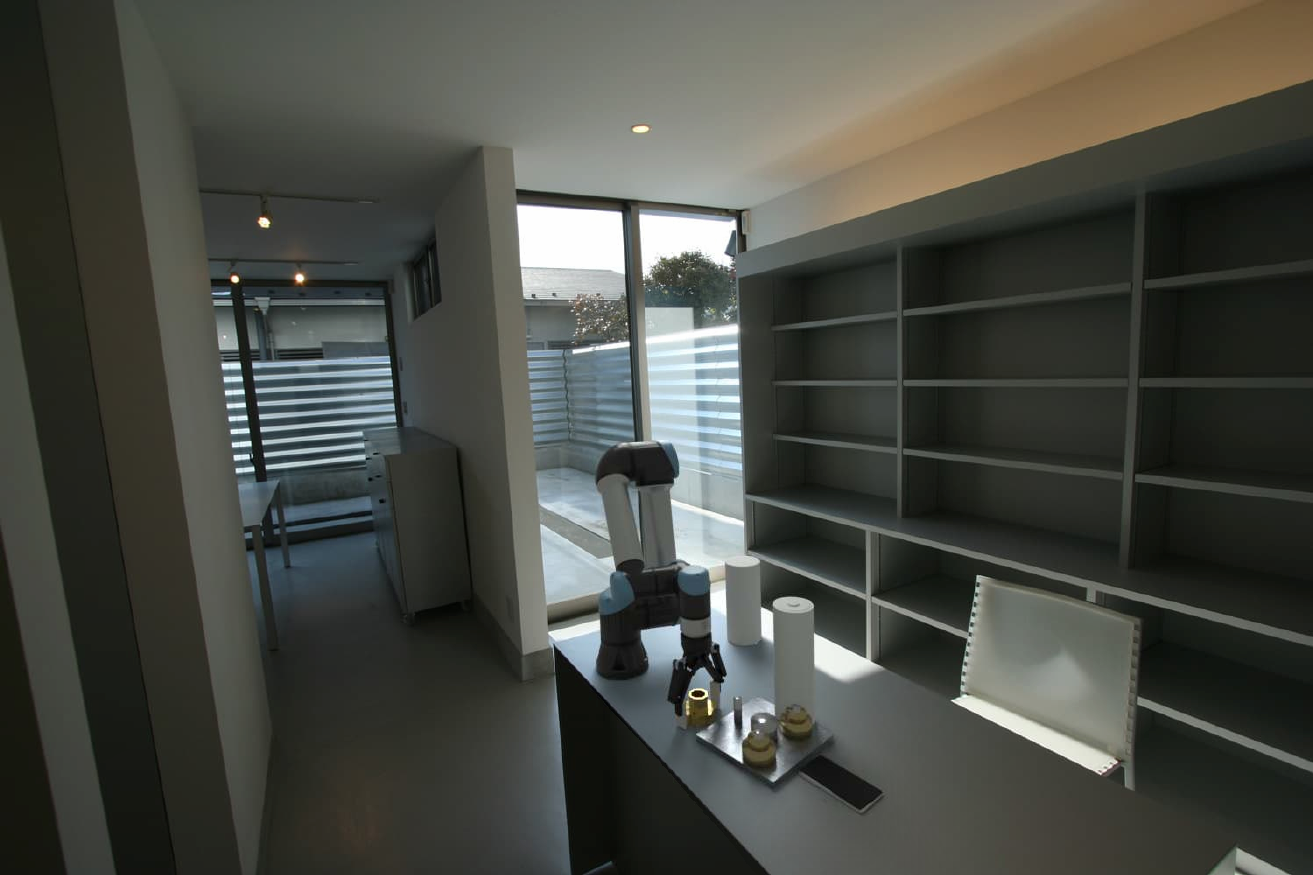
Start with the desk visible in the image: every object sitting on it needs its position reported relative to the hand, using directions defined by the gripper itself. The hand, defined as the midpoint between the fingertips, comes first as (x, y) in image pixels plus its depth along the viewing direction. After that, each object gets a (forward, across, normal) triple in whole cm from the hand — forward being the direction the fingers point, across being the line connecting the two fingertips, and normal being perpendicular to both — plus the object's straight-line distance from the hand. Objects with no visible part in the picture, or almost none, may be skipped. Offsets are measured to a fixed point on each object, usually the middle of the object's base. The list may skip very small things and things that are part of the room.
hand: (699, 716), depth 146 cm
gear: (0, 0, 0) cm, 0 cm away
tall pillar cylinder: (0, +40, +19) cm, 44 cm away
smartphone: (+1, +4, -36) cm, 36 cm away
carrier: (0, +4, -17) cm, 17 cm away
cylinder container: (+1, +15, -17) cm, 23 cm away
